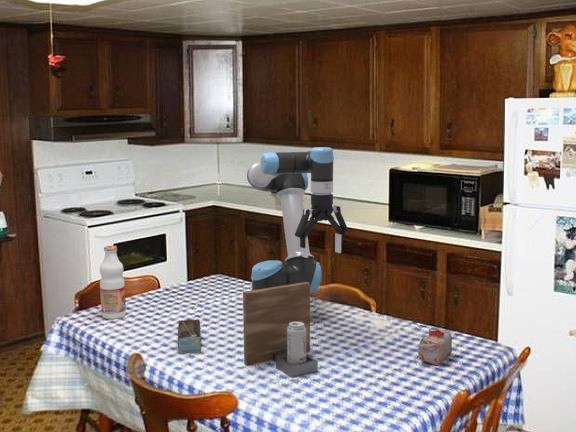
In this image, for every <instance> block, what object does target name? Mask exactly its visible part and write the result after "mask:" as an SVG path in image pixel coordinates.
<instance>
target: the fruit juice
mask: <svg viewBox="0 0 576 432" xmlns="http://www.w3.org/2000/svg"><path fill="white" fill-rule="evenodd" d="M103 251H104V253H105V254H104V258H103V260H102V262H101V264H100V265H99V274H100V281H99V290H100V291H99V292H100V312H101V317H102V318H103V319H106V320H115V319H121V318H124V317H125V316H126V313H127V310H126V309H127V307H126V305H127V304H126V287H125V285H126V284H125V278H124V275H123V274H124V265H123V263H122V262H121V261H120V260H119V257H118V253H117V251H118V247H117V245H106V246H104V248H103Z"/></svg>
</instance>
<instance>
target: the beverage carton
mask: <svg viewBox="0 0 576 432" xmlns="http://www.w3.org/2000/svg"><path fill="white" fill-rule="evenodd" d="M177 326H178V327H177V350H178V355H188V354H187V353H190V354H201V353H202V346H201V345H202V338H201V337H202V335H201V334H202V333H201V332H202V331H201V322H200V319H199V318H198V319H197V318H196V319H186V320H185V319H184V320H183V319H181V320H178V324H177Z"/></svg>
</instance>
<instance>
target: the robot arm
mask: <svg viewBox="0 0 576 432" xmlns="http://www.w3.org/2000/svg"><path fill="white" fill-rule="evenodd" d="M308 174H310V193H311V195H310V205H311V208H309V209H307V208H304V205H303V204H304V203H303V196H305V194H306V190H308V187H309V176H308ZM246 179H247V182H248V183H249V185H250V186H251V187H252V188H254V189H256V191H257V190H258V191H260V192H268V193H269V192H270V193H271V192H274V193H275V197H276V198H277V199H279V200H280V203H281V205H280V206H281V211H282V213H281V214H282V220H283V229H284V236H285V237H284V238H285V244H286V245H285V246H286V251H287V257H286V258H285V259H284V264H283V262H282V261H281V260H276V259H275V260H273V259H272V260H271V259H270V260H264V261H261V262H258V263H256V264H255V265H253V266H252V269H251V277H250V279H251V291H252V290H258V289H265V288H271V287H277V286H283V285H289V284H295V283H302V282H309V283H310V294H311V293H312V294H313V293H316V292H317V291H318V290H319V289H320V286H321V282H322V267H321V263H320V262H318V261H316V259H315V256H314V255H312V254H311V252H310V245H309V238H308V236H309V234H310V232H311V231H312V229H313V227H315V225H316V224H317V223H318V222H323V221H328V222H329V224H330V225H331V226H332V228H333V229H334V230H335V234H334V252H335V253H337V254H341V253H342V243H344V235H345V234H346V233H348V231H349V228H348V226H347V224H346V221H345V218H344V217H343V214H342V210H341V206H339V205H333V204H334V194H333V192H334V150H333V148H332V147H328V146H327V147H322V146H321V147H319V146H318V147H313V148H311V150H307V151H291V152H289V151H287V152H285V151H284V152H278V151H277V152H274V151H270V152H264V153H263V154H261V158H260V162H257V163H254V164H252V166H250V167H249V168H248V170H247V173H246ZM333 213H334V215H333ZM334 216H335V218H336V220H335V218H334Z"/></svg>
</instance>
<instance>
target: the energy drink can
mask: <svg viewBox="0 0 576 432" xmlns="http://www.w3.org/2000/svg"><path fill="white" fill-rule="evenodd" d="M306 354H307V352H306V328H305V326H304V323H303V322H297V321H296V322H291V323H289V326H288V328H287V362H289V363H290V364H292V365H295V364H299V363H304V362H306Z"/></svg>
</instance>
